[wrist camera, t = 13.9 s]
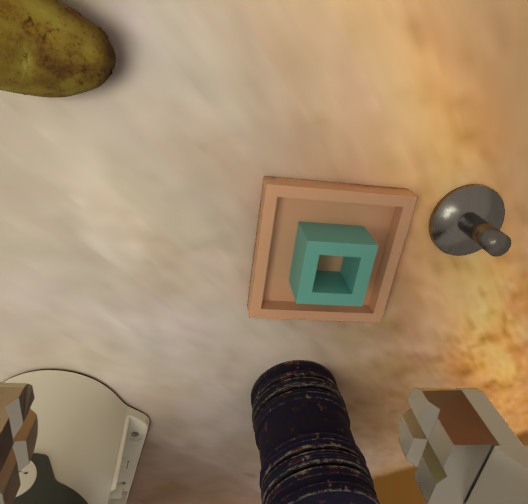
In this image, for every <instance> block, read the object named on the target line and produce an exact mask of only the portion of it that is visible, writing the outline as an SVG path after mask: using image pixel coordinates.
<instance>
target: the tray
mask: <svg viewBox="0 0 528 504" xmlns="http://www.w3.org/2000/svg"><path fill="white" fill-rule="evenodd" d="M416 201H417V196H416V195H414V194H413V193H412V192H411V191H410V190H408V189H403V188H392V187H380V186H369V185H358V184H347V183H335V182H324V181H313V180H301V179H290V178H279V177H267V176H264V179H263V186H262V194H261V202H260V210H259V217H258V225H257V233H256V241H255V248H254V256H253V264H252V272H251V279H250V287H249V295H248V303H247V307H248V314H249V318H272V319H298V320H325V321H352V322H378V323H381V320H382V317H383V314H384V310H385V307H386V303H387V300H388V296H389V293H390V290H391V286H392V283H393V279H394V276H395V272H396V269H397V266H398V262H399V259H400V255H401V252H402V249H403V245H404V242H405V238H406V235H407V231H408V228H409V225H410V221H411V218H412V214H413V211H414V207H415V204H416ZM299 221H302V222H316V223H330V224H343V225H357V226H364V227H365V229H366V230H367V231H368V233H369V234H370V235H371V236H372V238H373V239H374V240H375V242H376V243H377V244H378V249H377V253H376V257H375V260H374V264H373V268H372V272H371V276H370V279H369V283H368V287H367V291H366V294H365V298H364V302H363V306H341V305H317V304H296V302H295V299H294V296H293V293H292V289H291V286H290V283H289V274H290V268H291V263H292V257H293V251H294V245H295V239H296V233H297V227H298V222H299ZM342 261H343V256H329V255H319V260H318V265H317V270H321V271H339V272H340V269H341V265H342Z"/></svg>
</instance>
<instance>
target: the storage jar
mask: <svg viewBox="0 0 528 504" xmlns="http://www.w3.org/2000/svg"><path fill="white" fill-rule="evenodd" d="M251 404H252V422H253V428H254V432H255V439H256V444H257V447H258V449H259V451H260V460H261V471H260V488H261V498H262V504H379V501H378V499H377V496H376V492H375V490H374V484H373V481H372V478H371V475H370V472H369V469H368V468H367V466H366V461H365V458H364V456H363V454H362V453H361V451H360V449H359V448H358V446H357V445H356V444H355V441H354V438H353V436H352V433H351V430H350V420H349V416H348V413H347V410H346V406H345V403H344V400H343V397H342V395H341V393H340V392H339V390H338V388H337V384H336V381H335V379H334V377H333V375H332V374H331V373H330V371H329V370H328V369H326V368H325V367H324V366H322V365H320V364H317V363H315V362H311V361H304V360H295V361H288V362H284V363H281V364H278V365H276V366H274V367H272V368H270V369H269V370H267V371H266V372H265V373H263V374H262V375H261V376H260V377H259V378H258V380H257V381H256V383H255V384H254V386H253V389H252V393H251Z"/></svg>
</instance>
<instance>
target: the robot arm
mask: <svg viewBox="0 0 528 504" xmlns="http://www.w3.org/2000/svg"><path fill="white" fill-rule="evenodd" d="M408 403H409V405H410V407H411V409H409V410H408V411H407V412H406V413H405V414H403V415H402V418H401V421H400V425H399V440H400V444H401V448H402V451H403V453H404V455H405V457H406V459H407V460H408V461H410V462H411V463H412V464H413V465H414V466H416V467H417V468H416V472H415V475H414V477H415V479H416V481H417V484H418V486H419V488H420V490H421V492H422V494H423V496H424V499H425V501H426V503H427V504H528V446H523V444H522V443H521V442H520V440H519V439H518V438H517V436H516V435H515V434H514V432H513V431H512V430H511V428H510V427H509V426H508V424H507V423H506V422H505V420H504V419H503V418H502V416H501V415H500V414H499V412H498V411H497V410H496V408H495V407H494V406H493V405H492V403H491V402H490V401H489V399H488V398H487V397H486V395H485V394H484V393H483V392H482V391H481V390H479V389H478V388H456V389H454V388H415V389H414V390H413V391H412V392H411V393H410V396H409V398H408ZM149 423H150V420H149V418H148V417H147V416H146V415H145V414H143V413H141V412H139V411H137V410H135V409H133V408H131V407H128V406H127V405H126V404H124V403H123V402H122V401H121V400H120V399H119V398H118V397H117V395H116V394H115V393H113V392H112V391H111V390H110V389H109V388H107V387H106V386H104V385H103V384H101V383H100V382H98V381H96V380H94V379H91V378H89V377H86V376H83V375H80V374H76V373H72V372H67V371H58V370H41V371H33V372H28V373H24V374H21V375H18V376H15V377H13V378H10V379H8V380H6V381H5V382H3V383H1V382H0V504H126V502H127V498H128V495H129V491H130V488H131V485H132V481H133V478H134V475H135V471H136V468H137V464H138V461H139V458H140V454H141V451H142V447H143V444H144V441H145V437H146V434H147V431H148V427H149Z"/></svg>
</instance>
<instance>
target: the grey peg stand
mask: <svg viewBox="0 0 528 504" xmlns="http://www.w3.org/2000/svg"><path fill="white" fill-rule="evenodd" d="M504 215H505V209H504V203H503V201H502V199H501V197H500V196H499V195H498V193H497V192H495V191H494V190H492V189H491V188H489V187H487V186H484V185H479V184H470V185H465V186H462V187H459V188H457V189H455V190H453V191H451V192H450V193H448V194H447V195H446V196H445V197H444V198H443V199H442V200H441V201H440V202H439V203H438V204H437V206H436V207H435V209H434V211H433V213H432V215H431V219H430V224H429V232H430V236H431V239H432V241H433V242H434V244H435V245H436V246H437V247H438V248H439V249H440V250H442V251H443V252H445V253H447V254H450V255H456V256H461V255H467V254H471V253H474V252H476V251H478V250H480V249H482V248H483V249H484V250H485V251H486V252H488V253H489V254H490V255H492V256H501V255H503V254H505V253H506V252H507V251H508V250H509V248H510V246H511V239H510V238H509V237H508V236H507V235H505V234H504V233H503V232H501V231H500V228H501V226H502V224H503V221H504Z"/></svg>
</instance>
